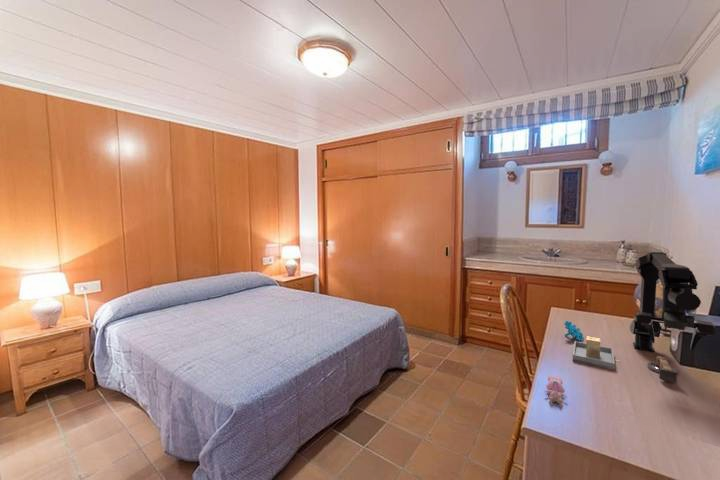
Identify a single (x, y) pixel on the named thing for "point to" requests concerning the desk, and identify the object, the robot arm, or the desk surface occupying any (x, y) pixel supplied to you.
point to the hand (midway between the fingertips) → (672, 346)
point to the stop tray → (604, 361)
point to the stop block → (593, 347)
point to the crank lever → (665, 370)
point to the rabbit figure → (555, 389)
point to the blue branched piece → (573, 331)
